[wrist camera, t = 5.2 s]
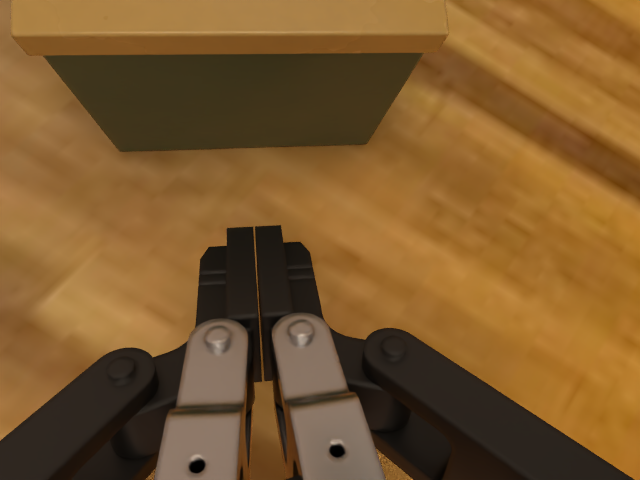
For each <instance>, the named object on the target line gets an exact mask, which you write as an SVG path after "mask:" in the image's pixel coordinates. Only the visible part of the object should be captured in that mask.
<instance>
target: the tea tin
mask: <svg viewBox="0 0 640 480" xmlns="http://www.w3.org/2000/svg"><path fill="white" fill-rule="evenodd" d="M448 34H449V29H448V20H447V12H446V3H445V0H11V36H12V37H13V38H14V40H15V41H16V42H17V43H18V44H19V45H20V47H21V48H22V49H23V50H24V51H25V52H26V54H28V55H31V56H44V57H45V59H46V60H47V61H48V62H49V64H50V65H51V66H52V67H53V69H54V70H55V71H56V72H57V74H58V75H59V76H60V77H61V79H62V80H63V81H64V82H65V84H66V85H67V86H68V87H69V89H70V90H71V91H72V92H73V94H74V95H75V96H76V97H77V99H78V100H79V101H80V102H81V104H82V105H83V106H84V107H85V109H86V110H87V111H88V112H89V114H90V115H91V116H92V118H93V119H94V120H95V121H96V123H97V124H98V125H99V126H100V128H101V129H102V130H103V131H104V133H105V134H106V135H107V136H108V138H109V139H110V140H111V141H112V143H113V144H114V145H115V146H116V148H117V149H118V150H119V151H152V150H185V149H218V148H251V147H284V146H317V145H350V144H367V142H368V141H369V139H370V138H371V136H372V134H373V133H374V131H375V130H376V128H377V126H378V125H379V123H380V122H381V120H382V119H383V117H384V115H385V114H386V112H387V111H388V109H389V107H390V106H391V104H392V103H393V101H394V100H395V98H396V96H397V95H398V93H399V92H400V90H401V88H402V87H403V85H404V84H405V82H406V81H407V79H408V77H409V76H410V74H411V73H412V71H413V69H414V68H415V66H416V65H417V63H418V61H419V60H420V58H421V57H422V55H423V54H424V53H435V52H437V51H438V49H439V48H440V47H441V45H442V44H443V42H444V41H445V39H446V38H447V36H448Z"/></svg>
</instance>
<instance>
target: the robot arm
mask: <svg viewBox="0 0 640 480" xmlns="http://www.w3.org/2000/svg"><path fill="white" fill-rule="evenodd" d="M255 235H256V255H257V276H258V292H259V307H260V322H261V337H262V352H263V366H264V381H273V392H274V410H275V416H276V422H277V428H278V434H279V440H280V445H281V451H282V457H283V463H284V469H285V475H286V480H386V478H385V475H384V472H383V469H382V466H381V463H380V460H379V457H378V454H377V451H376V449H378V450H379V451H380V452H381V453H382V454H384V455H385V456H386V457H387V458H388V459H390V460H391V461H392V462H393V463H394V464H396V465H397V466H398V467H399V468H400V469H402V470H403V471H404V472H405V473H406V474H408V475H409V476H410V477H411V478H412V479H414V480H634V479H633V478H631V477H629V476H628V475H626V474H625V473H623V472H622V471H620V470H619V469H617V468H616V467H614V466H613V465H611V464H609V463H608V462H606V461H605V460H603V459H602V458H600V457H599V456H597V455H596V454H594V453H593V452H591V451H590V450H588V449H586V448H585V447H583V446H582V445H580V444H579V443H577V442H576V441H574V440H573V439H571V438H570V437H568V436H566V435H565V434H563V433H562V432H560V431H559V430H557V429H556V428H554V427H553V426H551V425H550V424H548V423H547V422H545V421H543V420H542V419H540V418H539V417H537V416H536V415H534V414H533V413H531V412H530V411H528V410H527V409H525V408H523V407H522V406H520V405H519V404H517V403H516V402H514V401H513V400H511V399H510V398H508V397H507V396H505V395H503V394H502V393H500V392H499V391H497V390H496V389H494V388H493V387H491V386H490V385H488V384H487V383H485V382H484V381H482V380H480V379H479V378H477V377H476V376H474V375H473V374H471V373H470V372H468V371H467V370H465V369H464V368H462V367H460V366H459V365H457V364H456V363H454V362H453V361H451V360H450V359H448V358H447V357H445V356H444V355H442V354H441V353H439V352H437V351H436V350H434V349H433V348H431V347H430V346H428V345H427V344H425V343H424V342H422V341H421V340H419V339H417V338H416V337H414V336H413V335H411V334H410V333H408V332H406V331H403V330H400V329H395V328H384V329H380V330H377V331H374V332H373V333H371V334H370V335H369V336H368V337H367V339H366V340H363V339H357V338H352V337H347V336H344V335H341V334H339V333H337V332H335V331H334V330H333V329H331V328H330V327H329V326H328V325H327V324H326V322H325V320H324V318H323V315H322V310H321V306H320V301H319V296H318V291H317V286H316V281H315V276H314V271H313V267H312V261H311V256H310V252H309V251H308V250H307V249H306V248H305V247H304V246H303V244H302V243H301V242H288V243H283V237H282V230H281V225H276V226H256V227H255ZM199 274H200V275H199V286H198V300H197V315H196V326H195V329H194V330H193V331H192V332H191V334H190V336H189V338H188V341H187V342H186V343H184V344H183V345H182V346H180V347H179V348H177V349H175V350H173V351H170V352H168V353H165V354H162V355H159V356H156V357H153V358H152V356H151V355H150V354H149V353H148V352H146V351H144V350H142V349H138V348H122V349H118V350H114V351H112V352H109V353H108V354H106V355H104V356H103V357H101V358H100V359H99V360H97V361H96V362H95V363H94V364H93V365H91V366H90V367H89V368H88V369H87V370H85V371H84V372H83V373H82V374H80V375H79V376H78V377H77V378H76V379H74V380H73V381H72V382H71V383H70V384H68V385H67V386H66V387H65V388H64V389H62V390H61V391H60V392H59V393H58V394H56V395H55V396H54V397H53V398H51V399H50V400H49V401H48V402H47V403H45V404H44V405H43V406H42V407H41V408H39V409H38V410H37V411H36V412H35V413H33V414H32V415H31V416H30V417H28V418H27V419H26V420H25V421H24V422H22V423H21V424H20V425H19V426H18V427H16V428H15V429H14V430H13V431H12V432H10V433H9V434H8V435H7V436H5V437H4V438H3V439H2V440H1V441H0V480H145V479H146V478H147V477H148V476H149V475H150V474H151V473H152V471H153V470H154V469H155V468H156V472H155V477H154V480H250V468H251V446H252V424H253V404H254V400H255V389H254V382H262V374H261V354H260V333H259V314H258V298H257V283H256V267H255V252H254V236H253V227H239V228H227V246H218V247H209V248H208V249H207V250H206V252H205V253H204V255H203V256H202V258H201V259H200V271H199Z"/></svg>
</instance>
